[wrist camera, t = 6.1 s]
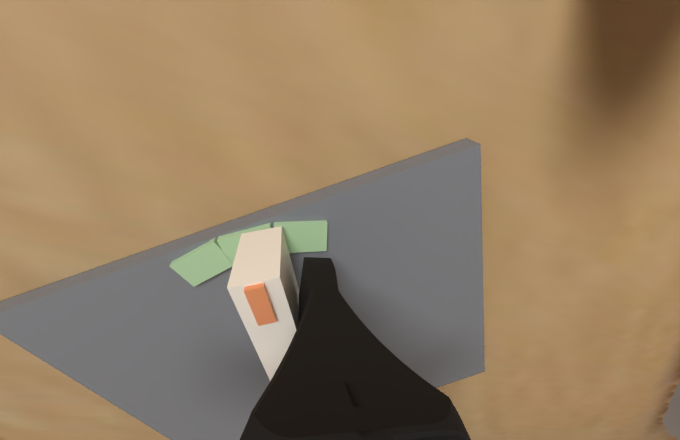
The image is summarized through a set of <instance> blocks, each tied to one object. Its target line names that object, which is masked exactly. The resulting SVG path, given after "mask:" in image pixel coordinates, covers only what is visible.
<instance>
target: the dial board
mask: <svg viewBox="0 0 680 440" xmlns="http://www.w3.org/2000/svg"><path fill="white" fill-rule="evenodd" d="M280 226H282V229H283V232H284V236H285V240H286V243H287V247H288V251H289V254H290V258H291V261H292V265H293V269H294V272H295V276H296V280H297V283H298V287H299V290H300V282H301V275H302V267H303V260H304V257H317V258H331V260H332V262H333V264H334V267H335V271H336V277H337V283H338V290H339V292H340V293H341V295H342V296H343V298H344V299H345V301H346V302H347V303H348V305H349V306H350V307H351V309H352V310H353V311H354V313H355V314H356V315H357V316H358V318H359V319H360V320H361V321H362V322H363V324H364V325H365V326H366V327H367V328H368V329H369V330H370V331H371V332H372V333H373V335H374V336H375V337H376V338H377V339H378V340H379V341H380V342H381V343H382V344H383V345H384V346H385V347H387V348H388V349H389V350H390V351H391V352H392V353H393V354H394V355H395V356H396V357H397V358H398V359H399V360H401V361H402V362H403V363H404V364H405V365H407V366H408V367H409V368H410V369H411V370H413V371H414V372H415V373H416V374H418V375H419V376H420V377H421V378H423V379H424V380H426V381H427V382H428V383H430V384H431V385H432V386H434V387H435V388H437V387H440V386H443V385H446V384H449V383H452V382H455V381H457V380H460V379H463V378H466V377H469V376H472V375H475V374H478V373H481V372H484V371H485V367H484V314H483V261H482V207H481V154H480V144H479V143H477V142H474V141H472V140H470V139H467V138H466V139H463V140H460V141H457V142H454V143H451V144H448V145H446V146H443V147H440V148H437V149H434V150H431V151H428V152H426V153H423V154H420V155H417V156H414V157H411V158H408V159H406V160H403V161H400V162H397V163H394V164H391V165H388V166H386V167H383V168H380V169H377V170H374V171H371V172H368V173H366V174H363V175H360V176H357V177H354V178H351V179H348V180H346V181H343V182H340V183H337V184H334V185H331V186H329V187H326V188H323V189H320V190H317V191H314V192H311V193H309V194H306V195H303V196H300V197H297V198H294V199H291V200H289V201H286V202H283V203H280V204H277V205H274V206H271V207H269V208H266V209H263V210H260V211H257V212H254V213H251V214H249V215H246V216H243V217H240V218H237V219H234V220H231V221H229V222H226V223H223V224H220V225H217V226H214V227H211V228H209V229H206V230H203V231H200V232H197V233H194V234H191V235H189V236H186V237H183V238H180V239H177V240H174V241H172V242H169V243H166V244H163V245H160V246H157V247H154V248H152V249H149V250H146V251H143V252H140V253H137V254H134V255H132V256H129V257H126V258H123V259H120V260H117V261H114V262H112V263H109V264H106V265H103V266H100V267H97V268H94V269H92V270H89V271H86V272H83V273H80V274H77V275H74V276H72V277H69V278H66V279H63V280H60V281H57V282H54V283H52V284H49V285H46V286H43V287H40V288H37V289H34V290H32V291H29V292H26V293H23V294H20V295H17V296H15V297H12V298H9V299H6V300H3V301H0V334H1V335H3V336H4V337H6V338H7V339H9V340H11V341H12V342H14V343H15V344H17V345H19V346H20V347H22V348H24V349H25V350H27V351H28V352H30V353H32V354H33V355H35V356H36V357H38V358H40V359H41V360H43V361H44V362H46V363H48V364H49V365H51V366H53V367H54V368H56V369H57V370H59V371H61V372H62V373H64V374H65V375H67V376H69V377H70V378H72V379H73V380H75V381H77V382H78V383H80V384H82V385H83V386H85V387H86V388H88V389H90V390H91V391H93V392H94V393H96V394H98V395H99V396H101V397H103V398H104V399H106V400H107V401H109V402H111V403H112V404H114V405H115V406H117V407H119V408H120V409H122V410H123V411H125V412H127V413H128V414H130V415H132V416H133V417H135V418H136V419H138V420H140V421H141V422H143V423H144V424H146V425H148V426H149V427H151V428H152V429H154V430H156V431H157V432H159V433H161V434H162V435H164V436H165V437H167V438H169V439H170V440H240V438H241V435H242V433H243V431H244V429H245V426H246V424H247V422H248V419H249V417H250V414H251V412H252V410H253V408H254V407H255V405H256V404H257V402H258V400H259V399H260V397H261V396H262V394H263V392H264V391H265V389H266V388H267V386H268V384H269V383H270V380H269V377H268V375H267V373H266V371H265V369H264V367H263V364H262V362H261V360H260V358H259V356H258V354H257V352H256V349H255V347H254V345H253V343H252V341H251V339H250V336H249V334H248V332H247V330H246V328H245V326H244V324H243V321H242V319H241V317H240V315H239V313H238V311H237V308H236V306H235V304H234V302H233V300H232V298H231V296H230V293H229V291H228V289H227V285H228V281H229V278H230V274H231V270H232V267H233V263H234V259H235V256H236V252H237V248H238V244H239V241H240V237H241V234H242V233H248V232H253V231H258V230H264V229H269V228H274V227H280Z"/></svg>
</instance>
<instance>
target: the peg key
mask: <svg viewBox="0 0 680 440" xmlns="http://www.w3.org/2000/svg"><path fill="white" fill-rule="evenodd" d="M227 289H228V291H229V293H230V296H231V298H232V300H233V302H234V304H235V306H236V308H237V311H238V313H239V315H240V317H241V319H242V321H243V324H244V326H245V328H246V330H247V332H248V334H249V336H250V339H251V341H252V343H253V345H254V347H255V349H256V352H257V354H258V356H259V358H260V360H261V362H262V364H263V367H264V369H265V371H266V373H267V375H268V377H269V380H270V381H271V379H272V377H273V376H274V374H275V372H276V370H277V368H278V367H279V365H280V363H281V361H282V359H283V357H284V355H285V353H286V351H287V349H288V347H289V345H290V343H291V341H292V339H293V337H294V335H295V332H296V330H297V328H298V325H299V287H298V283H297V280H296V276H295V272H294V269H293V265H292V261H291V258H290V254H289V251H288V247H287V243H286V240H285V236H284V232H283V229H282V226H280V227H274V228H269V229H264V230H258V231H253V232H248V233H242V234H241V237H240V241H239V244H238V248H237V252H236V256H235V259H234V263H233V267H232V270H231V274H230V278H229V281H228V285H227Z"/></svg>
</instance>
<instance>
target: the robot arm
mask: <svg viewBox="0 0 680 440" xmlns="http://www.w3.org/2000/svg"><path fill="white" fill-rule="evenodd" d="M240 440H471V439H470V437H469V435H468V433H467V431H466V428H465V426H464V424H463V422H462V420H461V418H460V416H459V414H458V412H457V410H456V409H455V407H454V405H453V404H452V402H451V400H450V398H449V397H448V396H446V395H445V394H443V393H442V392H441V391H439V390H438V389H437V388H435V387H434V386H432V385H431V384H430V383H428V382H427V381H426V380H424V379H423V378H421V377H420V376H419V375H418V374H416V373H415V372H414V371H413V370H411V369H410V368H409V367H408V366H407V365H405V364H404V363H403V362H402V361H401V360H399V359H398V358H397V357H396V356H395V355H394V354H393V353H392V352H391V351H390V350H389V349H388V348H387V347H385V346H384V345H383V344H382V343H381V342H380V341H379V340H378V339H377V338H376V337H375V336H374V335H373V333H372V332H371V331H370V330H369V329H368V328H367V327H366V326H365V325H364V324H363V322H362V321H361V320H360V319H359V318H358V316H357V315H356V314H355V313H354V311H353V310H352V309H351V307H350V306H349V305H348V303H347V302H346V301H345V299H344V298H343V296H342V295H341V293H340V292H339V290H338V283H337V277H336V271H335V267H334V264H333V262H332V260H331V258H317V257H304V260H303V267H302V275H301V282H300V290H299V325H298V328H297V330H296V332H295V335H294V337H293V339H292V341H291V343H290V345H289V347H288V349H287V351H286V353H285V355H284V357H283V359H282V361H281V363H280V365H279V367H278V368H277V370H276V372H275V374H274V376H273V377H272V379H271V381H270V383H269V384H268V386H267V388H266V389H265V391H264V392H263V394H262V396H261V397H260V399H259V400H258V402H257V404H256V405H255V407H254V408H253V410H252V412H251V414H250V417H249V419H248V422H247V424H246V426H245V429H244V431H243V433H242V435H241V438H240Z"/></svg>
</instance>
